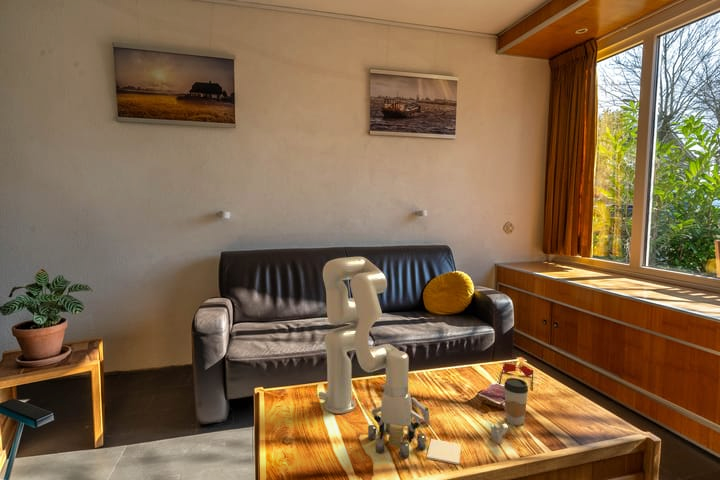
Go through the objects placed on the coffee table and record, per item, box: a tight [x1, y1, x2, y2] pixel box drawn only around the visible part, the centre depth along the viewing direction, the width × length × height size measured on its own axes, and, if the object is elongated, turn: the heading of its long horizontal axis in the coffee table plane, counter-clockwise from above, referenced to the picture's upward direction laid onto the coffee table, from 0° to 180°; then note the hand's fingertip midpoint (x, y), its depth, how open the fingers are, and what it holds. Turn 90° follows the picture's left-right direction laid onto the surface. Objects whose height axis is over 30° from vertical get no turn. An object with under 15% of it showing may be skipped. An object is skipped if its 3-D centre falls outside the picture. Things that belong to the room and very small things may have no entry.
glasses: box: [498, 363, 534, 392], centre depth 181 cm, size 14×16×5 cm
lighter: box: [490, 423, 509, 445], centre depth 133 cm, size 7×2×8 cm, turn 16°
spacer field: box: [367, 423, 427, 460], centre depth 133 cm, size 20×15×4 cm
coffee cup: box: [503, 377, 529, 426], centre depth 146 cm, size 8×8×15 cm
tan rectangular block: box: [388, 424, 405, 448], centre depth 133 cm, size 4×4×6 cm
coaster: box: [426, 438, 462, 465], centre depth 128 cm, size 10×10×1 cm
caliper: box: [411, 396, 430, 426], centre depth 154 cm, size 20×1×6 cm, turn 9°
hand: (396, 437), depth 133 cm, fingers open, 9 cm apart
